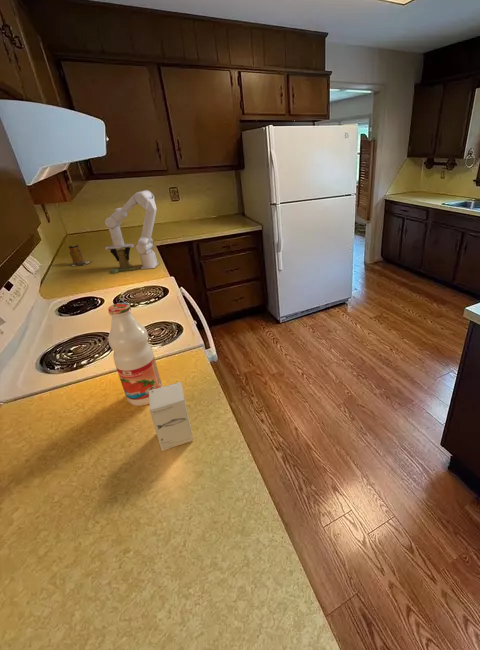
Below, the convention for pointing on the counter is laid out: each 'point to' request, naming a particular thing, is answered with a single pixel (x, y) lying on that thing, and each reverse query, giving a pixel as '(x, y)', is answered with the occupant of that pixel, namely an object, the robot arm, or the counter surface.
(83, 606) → the counter surface
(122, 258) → the cork
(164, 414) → the white packaging box
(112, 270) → the spoon
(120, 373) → the fruit juice
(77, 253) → the condiment
